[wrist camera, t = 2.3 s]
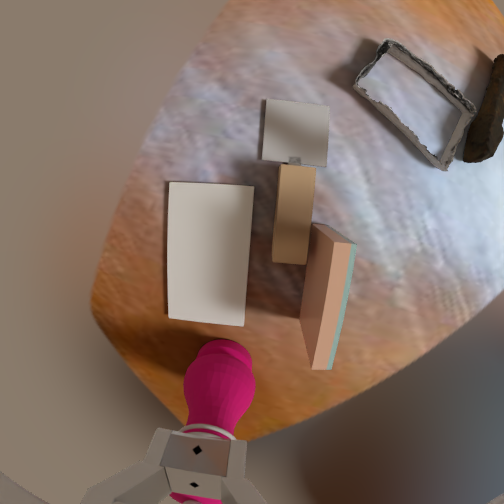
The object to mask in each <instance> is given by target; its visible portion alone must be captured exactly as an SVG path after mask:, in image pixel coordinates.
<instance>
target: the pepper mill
mask: <svg viewBox="0 0 504 504" xmlns="http://www.w3.org/2000/svg"><path fill="white" fill-rule="evenodd" d="M183 385H184V395H185V398H186V402H187V405H188V408H189V416H188V421H187V424H186V426H185V427H183V428H181V429H180V430H179V431H178V432H182V433H187V434H192V435H198V436H208V437H217V438H226V439H233V440H236V438H235V437H234V436H233V433H234V427H235V425H236V423H237V422H238V420H239V419H240V417H241V416H242V415H243V414H244V413H245V411H246V410H247V409H248V407H249V405H250V404H251V402H252V399H253V397H254V392H255V379H254V376H253V373H252V359H251V357H250V354H249V353H248V351H247V350H246V349H245V348H244V347H243V346H241V345H240V344H238V343H236V342H234V341H231V340H224V339H220V340H213V341H210V342H208V343H206V344H205V345H204V346H202V348H201V349H200V350H199V352H198V355H197V358H196V360H195V361H193V362H192V363H191V364H190V366H189V367H188V369H187V371H186V374H185V378H184V384H183ZM170 496H171V497H172V498H173V499H175V500H176V501H178V502H180V503H182V504H222V502H221V500H218V499H211V498H205V497H199V496H193V495H187V494H181V493H175V492H171V494H170Z"/></svg>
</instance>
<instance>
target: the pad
mask: <svg viewBox="0 0 504 504" xmlns="http://www.w3.org/2000/svg"><path fill="white" fill-rule="evenodd" d="M253 198H254V186H242V185H227V184H208V183H185V182H170V184H169V205H168V242H167V277H168V314H169V318H173V319H181V320H189V321H197V322H205V323H214V324H224V325H234V326H244V317H245V303H246V290H247V277H248V264H249V250H250V237H251V224H252V211H253Z"/></svg>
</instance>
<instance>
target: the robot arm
mask: <svg viewBox="0 0 504 504" xmlns="http://www.w3.org/2000/svg"><path fill="white" fill-rule="evenodd" d="M246 449H247V441H245V440H233V439H226V438H217V437H208V436H198V435H192V434H187V433H182V432H177V431H173V430H168V429H163V428H158V429H157V430H156V431H155V434H154V436H153V438H152V441H151V443H150V446H149V448H148V451H147V453H146V456H145V458H144V461H143V462H142V461H138V462H136V463H134V464H133V465H131V466H129V467H127V468H126V469H124V470H122V471H120V472H118V473H117V474H115V475H113V476H111V477H109V478H108V479H106V480H104V481H102V482H100V483H98V484H96V485H94V486H92V487H90V488H88V489H87V491H86V494H85V495H84V497H83V499H82V501H81V503H80V504H158V503H160V502H161V501H162V500H163V499H165V498H166V497H167V496H168V495H170V494H171V492H175V493H181V494H187V495H193V496H199V497H205V498H211V499H218V500H221V502H222V504H267V502H266V501H265V500H264V499H263V497H262V496H261V495H260V493H259V492H258V491H257V490H256V488H255V487H254V486H253V484H252V483H251V481H250V480H249V479H244V476H245V462H246ZM0 504H49V503H47V502H45V501H44V500H42V499H40V498H39V497H37V496H35V495H34V494H32V493H31V492H29V491H27V490H26V489H25V488H23V487H22V486H20V485H19V484H17V483H16V482H14V481H13V480H11V479H10V478H9V477H7V476H6V475H4V474H3V473H2V472H1V471H0ZM487 504H504V493H503V494H502V495H500V496H498V497H497V498H495V499H494V500H492V501H490V502H488V503H487Z"/></svg>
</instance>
